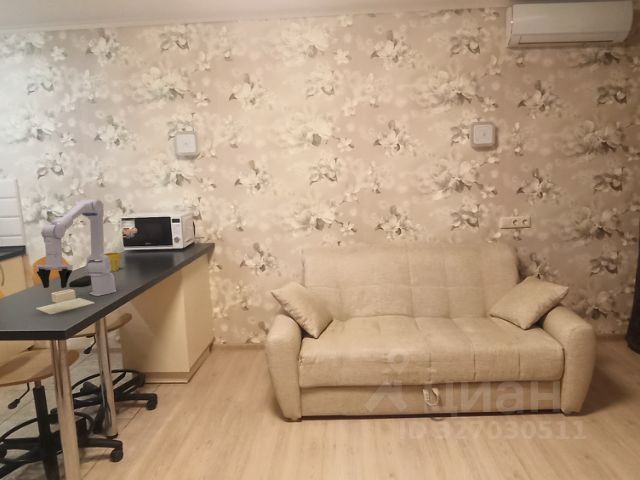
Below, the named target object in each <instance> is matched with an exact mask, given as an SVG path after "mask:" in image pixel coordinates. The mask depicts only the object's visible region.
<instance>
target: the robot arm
mask: <svg viewBox="0 0 640 480" xmlns="http://www.w3.org/2000/svg"><path fill="white" fill-rule="evenodd" d="M104 209H105V208H104V203H103V202H102V201H101V200H100V198H96V199H78V200H77V201H75V202H74V206H73V207H72V208H70V210H69V211H68V212H67V213H61V214H59V215H58V217H57V218H56V219H54V220H52V221H51V223H50V224H45V225H44V226H43V227H42V229H41V231H40V232H41V233H40V234H41V237H42V238H43V242H44V244H45V245H44V246H45V247H44V248H45V264H37V265H35V267H36V268H35V270H36V274H37V275H38V278H39V279H40V281H41V283H42V286H43V288H44V289H47V288H49V287H50V276H51V272H52V271H57V270H58V271H57V272H58V275H59V278H60V279H59V280H60V288H61V289H64V288H65V289H66V288H67V285H68V281H69V278H70V276H71V274H72V273H73V264H63V244H62V239H63V238H64V237H65V235H66V231H67V230H68V229H69V228H71V227H72V226H73V225H74V221H75V220H76V219H77V218H78V217H79V216H81V215H82V216H84V217H85V218H87V219H88V220H89V222H90V255H89V256H88V257H87V258H86V264H85V272H86V273H87V274H88V276H91V282H92V284H91V289H92V291H91V292H89V295H91V296H95V297H99V296H103V295H104V296H105V295H108V294H112V293H117V290H116V281H115V280H116V279H115V277H114V274H113V273H112V272H110V271H111V263H110V258H109V257H108V256H106V255H105V245H104V213H105V212H104Z"/></svg>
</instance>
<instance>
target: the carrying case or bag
mask: <svg viewBox="0 0 640 480" xmlns="http://www.w3.org/2000/svg"><path fill="white" fill-rule="evenodd" d="M90 285H92V282H91V276H89V275H84V276H82V277H79V278H76V279H74V280H72V281H70V282H69V283H68V286H70V287H72V288H81V287H88V286H90Z"/></svg>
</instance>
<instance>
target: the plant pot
mask: <svg viewBox="0 0 640 480" xmlns="http://www.w3.org/2000/svg"><path fill="white" fill-rule="evenodd" d="M104 254H105V255H106V256H108V257H109V258H110V263H111V271H110V272H109V273H112V272H117V271H119V269H120V262H121V261H120V260H121V259H122V257H121V255H122V254H121V252H116V251H115V252H106V253H105V252H104Z"/></svg>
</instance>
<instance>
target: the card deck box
mask: <svg viewBox="0 0 640 480" xmlns="http://www.w3.org/2000/svg"><path fill="white" fill-rule="evenodd" d="M50 294H51V301H52V302H53V303H54V304H56V303H60V302H64V301H68V300H72V299H77V298H76V290H74V289H70V288H68V289H64V290H60V291H55V292H51V293H50Z"/></svg>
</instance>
